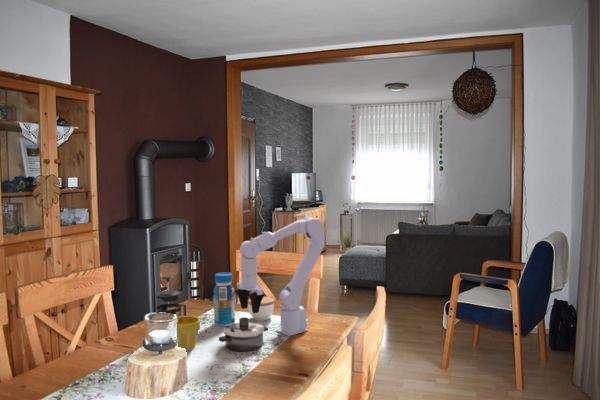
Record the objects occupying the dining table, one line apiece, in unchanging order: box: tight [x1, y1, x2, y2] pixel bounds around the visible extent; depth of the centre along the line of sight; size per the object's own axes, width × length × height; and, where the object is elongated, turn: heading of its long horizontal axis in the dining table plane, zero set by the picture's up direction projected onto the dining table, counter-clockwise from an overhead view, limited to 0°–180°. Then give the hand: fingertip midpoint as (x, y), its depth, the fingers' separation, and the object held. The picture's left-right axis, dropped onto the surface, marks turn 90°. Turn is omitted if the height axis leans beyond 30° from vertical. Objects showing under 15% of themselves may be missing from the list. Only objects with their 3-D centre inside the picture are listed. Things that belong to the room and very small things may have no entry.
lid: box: [223, 317, 265, 338], centre depth 173 cm, size 14×14×4 cm
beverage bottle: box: [212, 271, 236, 327], centre depth 197 cm, size 8×8×20 cm
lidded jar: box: [248, 296, 275, 322], centre depth 204 cm, size 11×11×9 cm
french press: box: [155, 275, 187, 317], centre depth 180 cm, size 12×9×23 cm
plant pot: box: [176, 315, 201, 351], centre depth 171 cm, size 10×10×10 cm
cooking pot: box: [218, 325, 269, 353], centre depth 173 cm, size 19×13×5 cm
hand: (249, 310), depth 182 cm, fingers open, 7 cm apart
